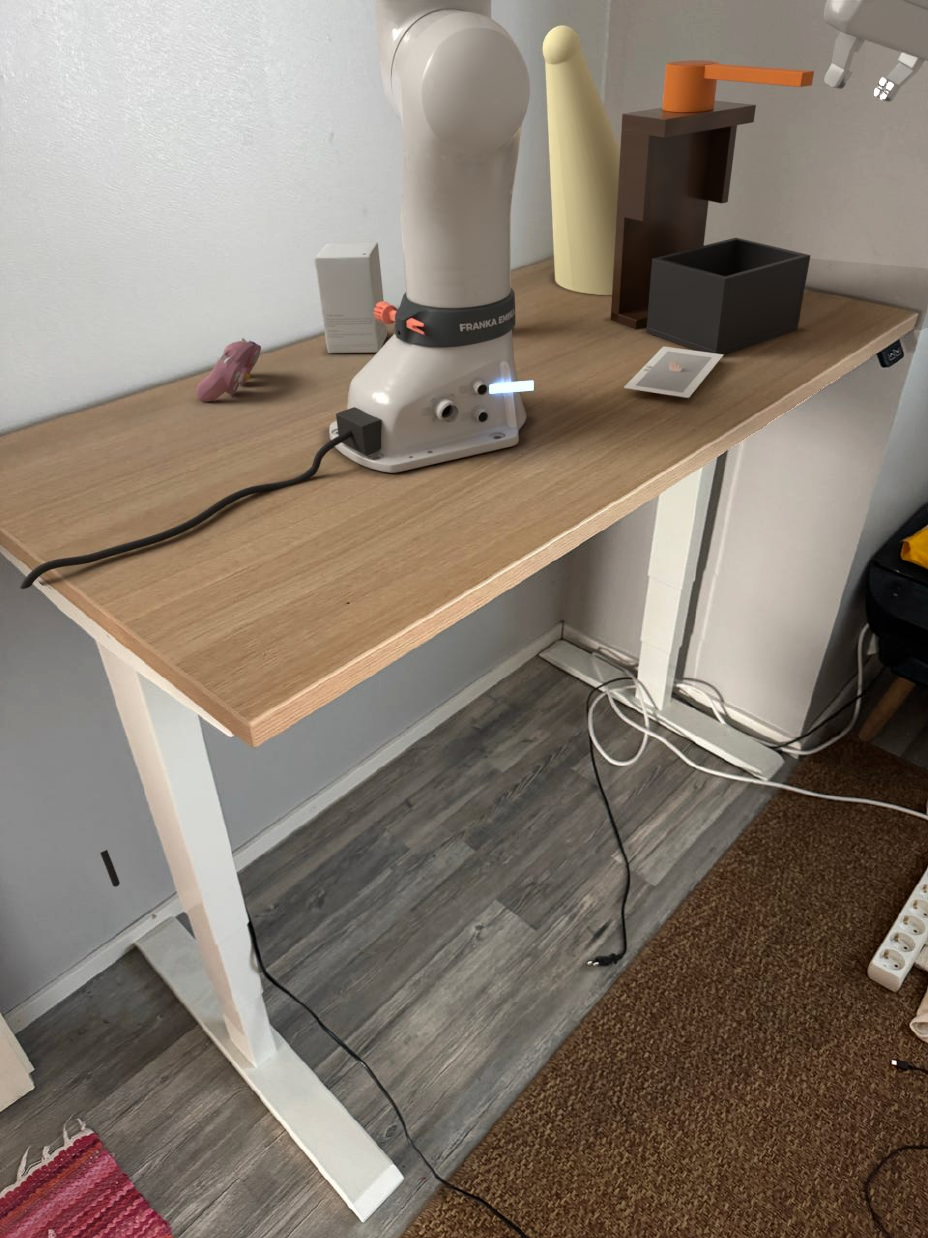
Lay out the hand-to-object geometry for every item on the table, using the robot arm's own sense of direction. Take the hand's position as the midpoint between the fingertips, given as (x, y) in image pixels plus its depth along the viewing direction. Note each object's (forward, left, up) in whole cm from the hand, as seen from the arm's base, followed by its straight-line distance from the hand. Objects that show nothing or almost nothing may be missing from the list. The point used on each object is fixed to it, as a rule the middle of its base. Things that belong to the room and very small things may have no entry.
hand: (857, 92), depth 96 cm
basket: (+2, +16, -30) cm, 33 cm away
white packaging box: (-39, +44, -30) cm, 66 cm away
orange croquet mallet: (+2, +18, -4) cm, 19 cm away
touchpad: (-15, +7, -30) cm, 34 cm away
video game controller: (-59, +40, -30) cm, 77 cm away
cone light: (+5, +44, -30) cm, 53 cm away
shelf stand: (+2, +25, -30) cm, 39 cm away
